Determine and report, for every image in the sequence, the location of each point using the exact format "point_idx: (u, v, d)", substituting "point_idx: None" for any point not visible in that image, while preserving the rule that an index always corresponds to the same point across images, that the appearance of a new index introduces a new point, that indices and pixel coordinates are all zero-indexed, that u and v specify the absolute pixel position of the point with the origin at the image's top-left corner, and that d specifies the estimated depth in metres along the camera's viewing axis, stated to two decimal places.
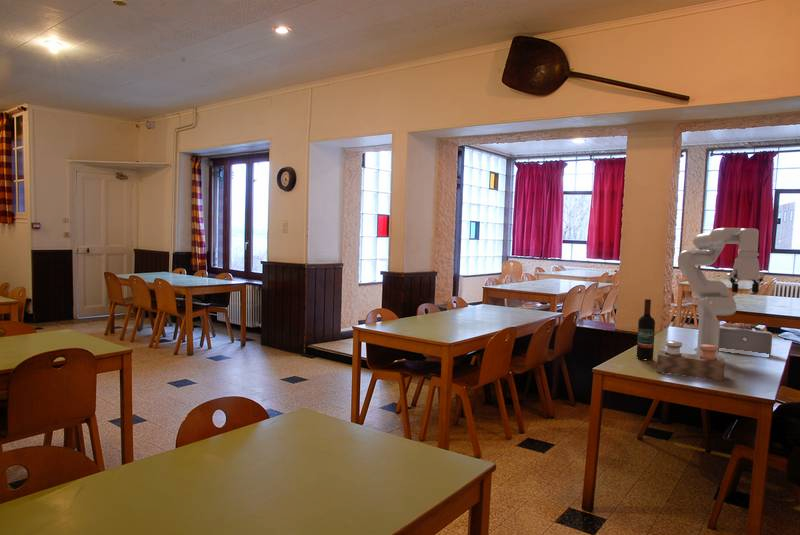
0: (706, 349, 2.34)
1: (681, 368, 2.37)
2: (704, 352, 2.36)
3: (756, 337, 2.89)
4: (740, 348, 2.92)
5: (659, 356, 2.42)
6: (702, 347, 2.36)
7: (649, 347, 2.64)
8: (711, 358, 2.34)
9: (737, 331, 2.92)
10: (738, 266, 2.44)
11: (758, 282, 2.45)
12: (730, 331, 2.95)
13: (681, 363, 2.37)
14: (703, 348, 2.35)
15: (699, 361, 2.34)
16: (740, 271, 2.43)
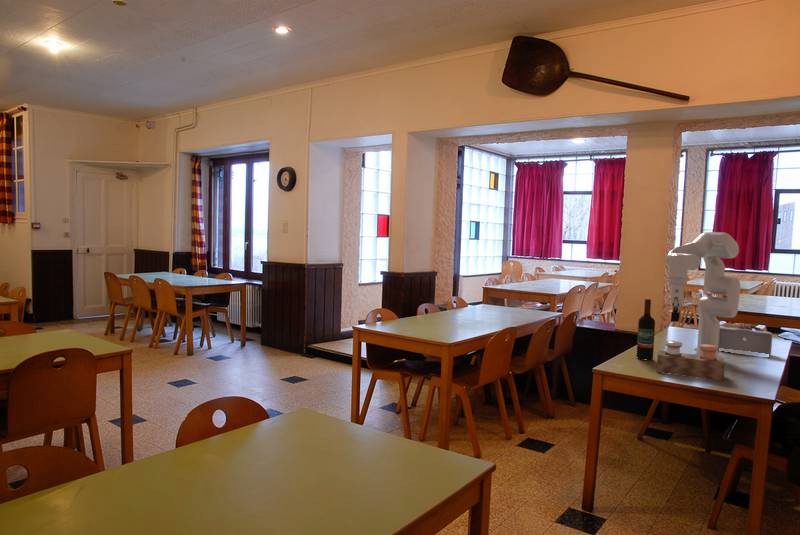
0: (706, 349, 2.34)
1: (681, 368, 2.37)
2: (704, 352, 2.36)
3: (755, 337, 2.88)
4: (740, 348, 2.91)
5: (659, 356, 2.42)
6: (702, 347, 2.36)
7: (649, 347, 2.64)
8: (711, 358, 2.34)
9: (737, 331, 2.92)
10: None
11: (672, 310, 2.39)
12: (730, 331, 2.94)
13: (681, 363, 2.37)
14: (703, 348, 2.35)
15: (699, 361, 2.34)
16: None
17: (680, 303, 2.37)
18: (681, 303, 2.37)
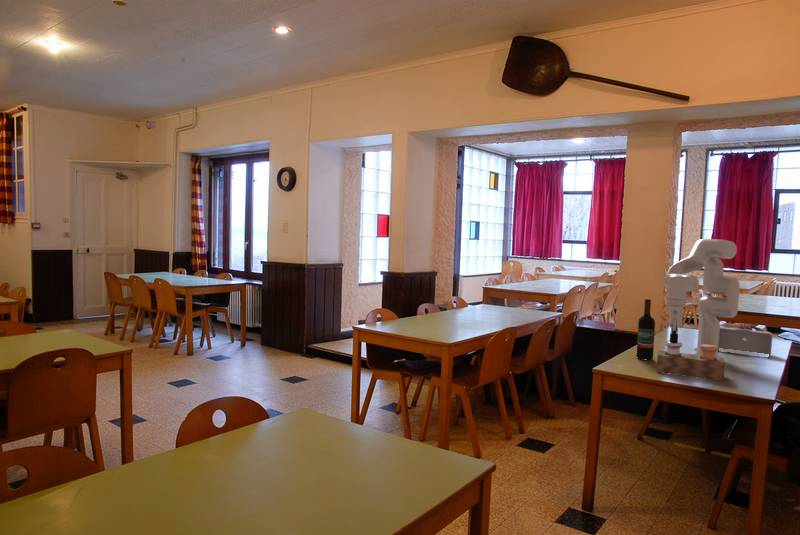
0: (706, 349, 2.34)
1: (681, 368, 2.37)
2: (704, 352, 2.36)
3: (755, 337, 2.88)
4: (740, 348, 2.91)
5: (659, 356, 2.42)
6: (702, 347, 2.36)
7: (649, 347, 2.64)
8: (711, 358, 2.34)
9: (737, 331, 2.92)
10: None
11: (671, 332, 2.43)
12: (730, 331, 2.94)
13: (681, 363, 2.37)
14: (703, 348, 2.35)
15: (699, 361, 2.34)
16: None
17: (679, 324, 2.37)
18: (680, 324, 2.37)
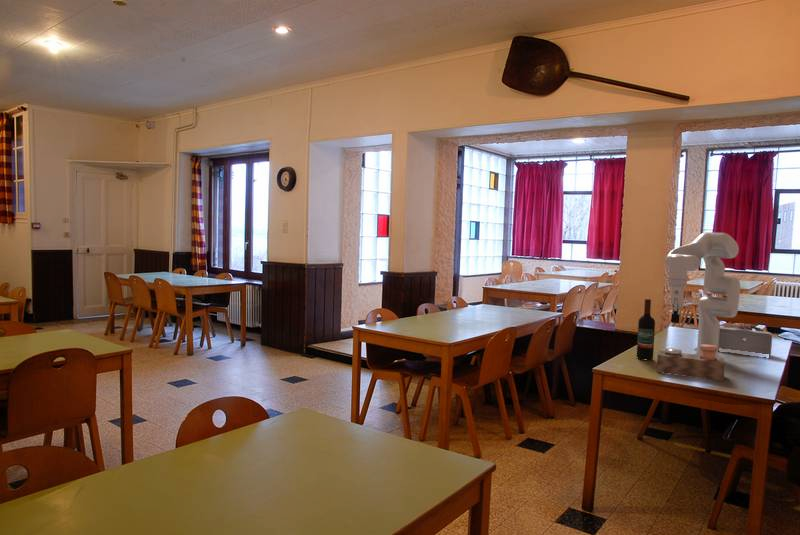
0: (706, 349, 2.34)
1: (681, 368, 2.37)
2: (704, 352, 2.36)
3: (755, 337, 2.88)
4: (740, 348, 2.91)
5: (659, 356, 2.42)
6: (702, 347, 2.36)
7: (649, 347, 2.64)
8: (711, 358, 2.34)
9: (737, 331, 2.91)
10: None
11: None
12: (730, 331, 2.94)
13: (681, 363, 2.37)
14: (703, 348, 2.35)
15: (699, 361, 2.34)
16: None
17: (680, 304, 2.37)
18: (681, 304, 2.37)
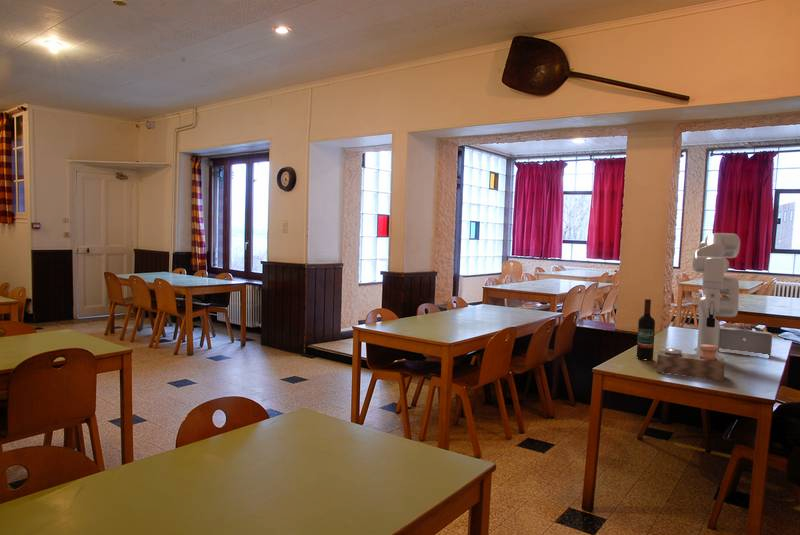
0: (706, 349, 2.34)
1: (681, 368, 2.37)
2: (704, 352, 2.36)
3: (755, 337, 2.87)
4: (740, 349, 2.90)
5: (659, 356, 2.42)
6: (702, 347, 2.36)
7: (649, 347, 2.64)
8: (711, 358, 2.34)
9: (737, 331, 2.91)
10: None
11: (707, 316, 2.35)
12: (730, 331, 2.94)
13: (681, 363, 2.37)
14: (703, 348, 2.35)
15: (699, 361, 2.34)
16: None
17: (716, 308, 2.30)
18: (717, 308, 2.30)
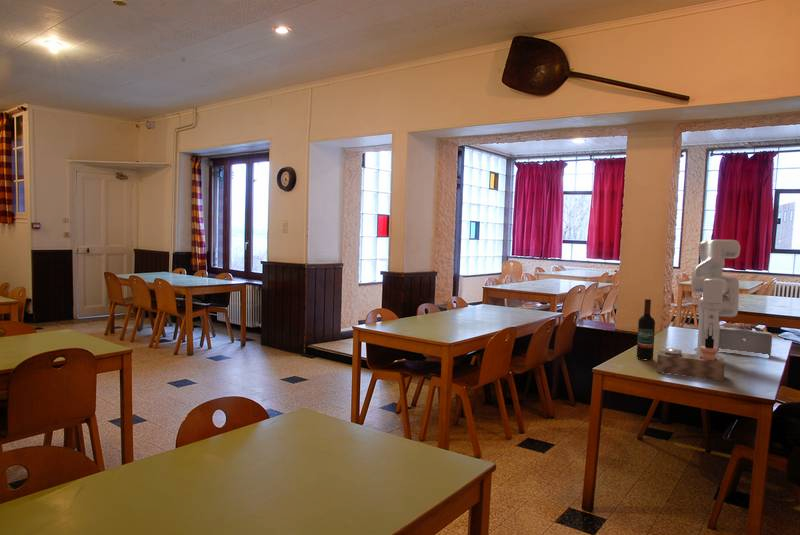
0: (706, 351, 2.34)
1: (681, 368, 2.37)
2: (704, 354, 2.36)
3: (755, 337, 2.87)
4: (740, 349, 2.90)
5: (659, 356, 2.42)
6: (702, 349, 2.36)
7: (649, 347, 2.64)
8: None
9: (737, 331, 2.91)
10: None
11: None
12: (730, 331, 2.93)
13: (681, 363, 2.37)
14: (703, 350, 2.35)
15: (699, 361, 2.34)
16: None
17: (715, 329, 2.31)
18: (716, 329, 2.30)
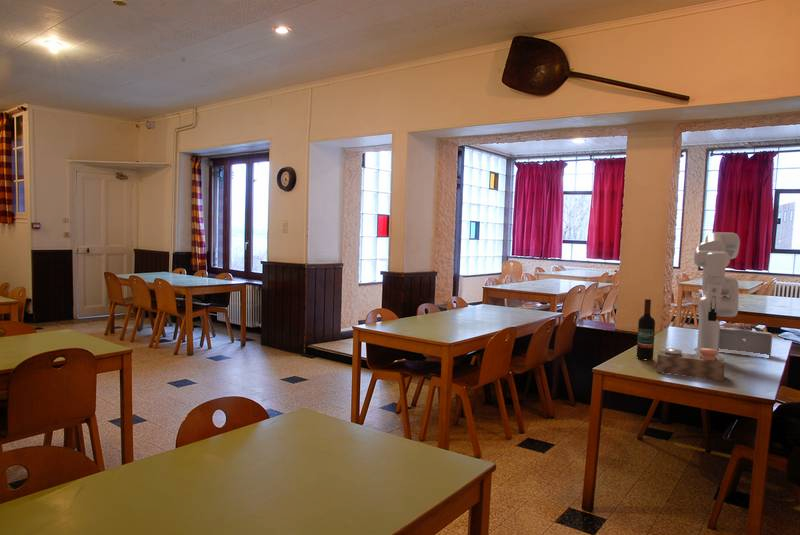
0: (706, 353, 2.34)
1: (681, 368, 2.37)
2: (704, 356, 2.36)
3: (755, 337, 2.87)
4: (740, 349, 2.90)
5: (659, 356, 2.42)
6: (702, 351, 2.36)
7: (649, 347, 2.64)
8: None
9: (737, 332, 2.91)
10: None
11: None
12: (730, 332, 2.93)
13: (681, 363, 2.37)
14: (703, 352, 2.36)
15: (699, 361, 2.34)
16: None
17: (718, 302, 2.33)
18: (719, 302, 2.33)
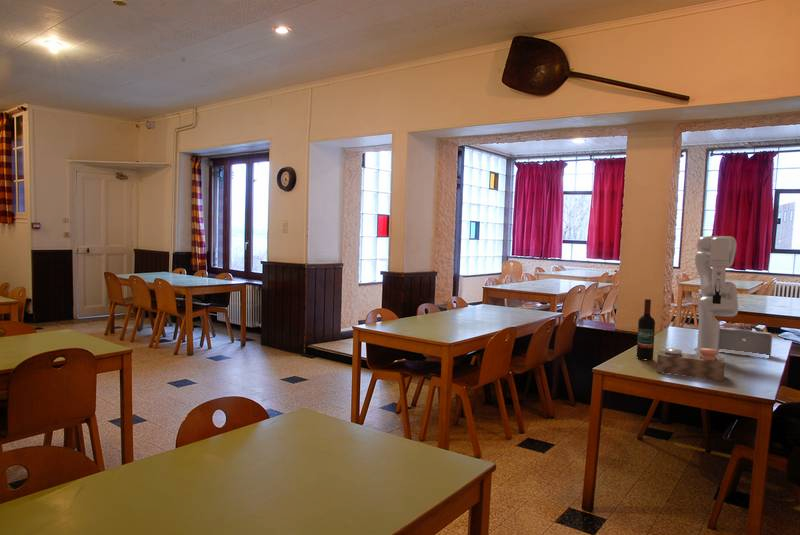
0: (706, 353, 2.34)
1: (681, 368, 2.37)
2: (704, 356, 2.36)
3: (755, 338, 2.86)
4: (740, 349, 2.89)
5: (659, 356, 2.42)
6: (702, 351, 2.36)
7: (649, 347, 2.64)
8: None
9: (737, 332, 2.90)
10: None
11: (714, 293, 2.47)
12: (730, 332, 2.93)
13: (681, 363, 2.37)
14: (703, 352, 2.36)
15: (699, 361, 2.34)
16: None
17: (722, 285, 2.42)
18: (723, 285, 2.42)
